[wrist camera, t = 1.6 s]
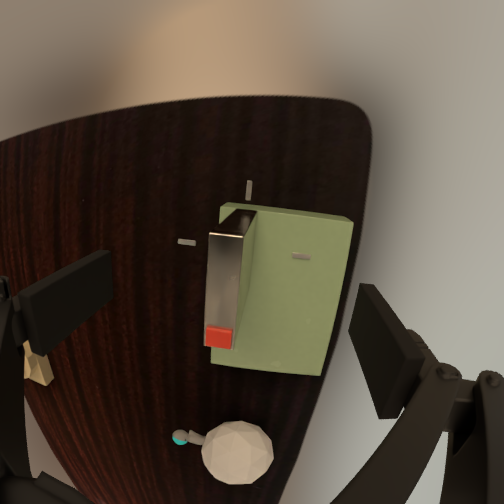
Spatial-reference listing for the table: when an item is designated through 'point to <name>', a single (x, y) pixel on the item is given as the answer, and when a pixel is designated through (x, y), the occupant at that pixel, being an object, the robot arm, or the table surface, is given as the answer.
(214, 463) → the perfume bottle
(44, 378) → the box
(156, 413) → the table surface
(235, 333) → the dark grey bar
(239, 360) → the clamp block
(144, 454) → the table surface
